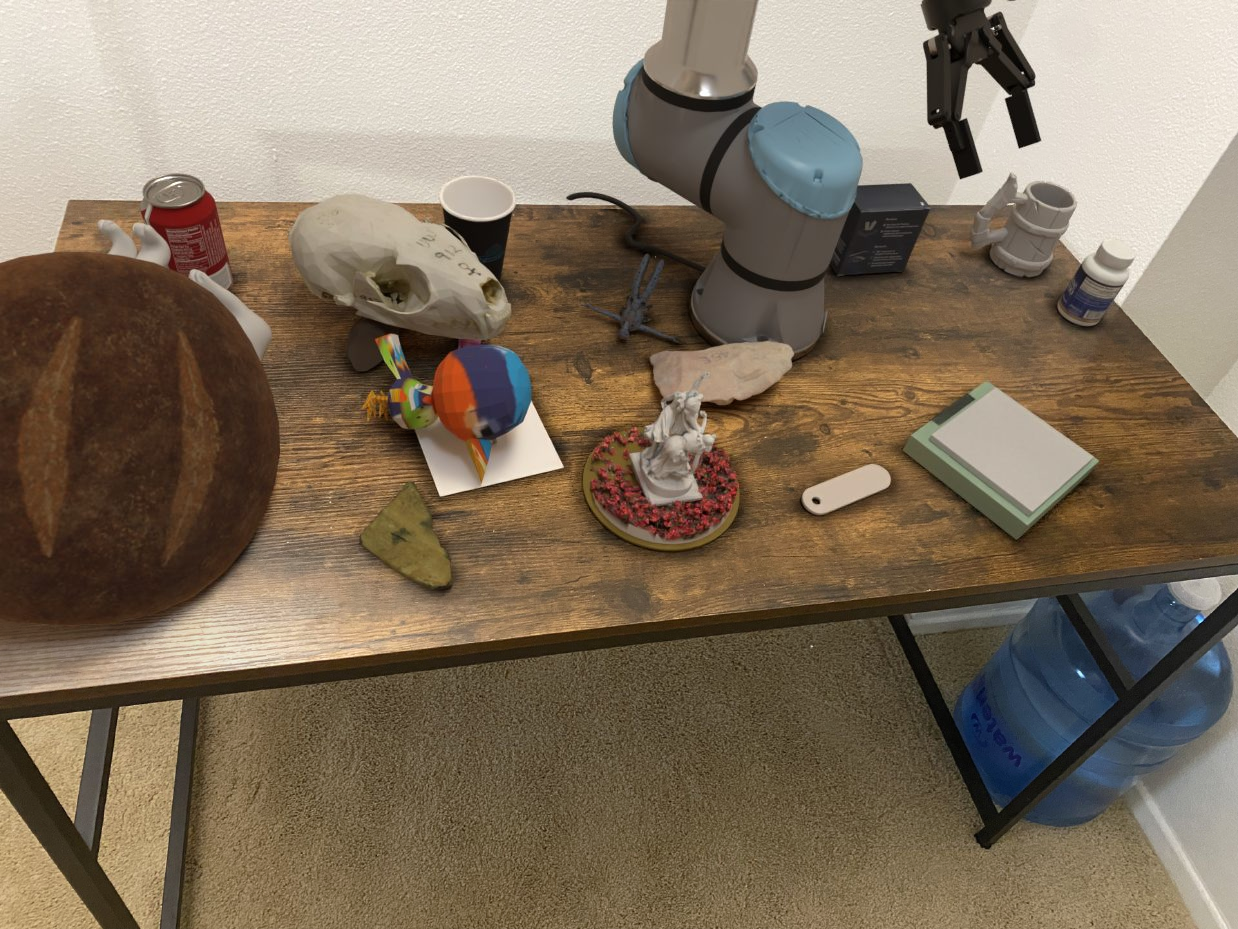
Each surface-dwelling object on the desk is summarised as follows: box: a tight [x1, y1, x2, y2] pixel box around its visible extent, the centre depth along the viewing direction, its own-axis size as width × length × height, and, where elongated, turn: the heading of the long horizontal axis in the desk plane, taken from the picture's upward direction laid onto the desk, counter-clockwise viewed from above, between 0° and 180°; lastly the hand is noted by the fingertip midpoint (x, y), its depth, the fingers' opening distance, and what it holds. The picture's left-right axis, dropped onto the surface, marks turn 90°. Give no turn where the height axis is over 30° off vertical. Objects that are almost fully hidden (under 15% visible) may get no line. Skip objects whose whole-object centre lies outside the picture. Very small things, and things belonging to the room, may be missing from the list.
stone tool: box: [649, 341, 794, 406], centre depth 96 cm, size 9×5×15 cm
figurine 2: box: [579, 253, 681, 344], centre depth 100 cm, size 12×10×5 cm
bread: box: [0, 251, 281, 627], centre depth 67 cm, size 28×27×9 cm
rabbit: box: [97, 219, 273, 362], centre depth 76 cm, size 12×21×25 cm
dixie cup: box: [438, 174, 517, 283], centre depth 99 cm, size 8×8×11 cm
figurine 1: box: [345, 292, 405, 372], centre depth 94 cm, size 6×4×12 cm
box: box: [829, 182, 932, 277], centre depth 112 cm, size 9×6×10 cm, turn 104°
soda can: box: [139, 172, 234, 292], centre depth 93 cm, size 7×7×12 cm
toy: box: [361, 334, 533, 484], centre depth 84 cm, size 10×14×15 cm
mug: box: [969, 171, 1078, 278], centre depth 116 cm, size 8×12×12 cm, turn 91°
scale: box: [902, 380, 1100, 540], centre depth 94 cm, size 14×14×3 cm
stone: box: [359, 481, 454, 591], centre depth 79 cm, size 12×7×2 cm, turn 24°
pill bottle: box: [1057, 238, 1137, 327], centre depth 111 cm, size 5×5×10 cm
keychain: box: [801, 463, 892, 516], centre depth 90 cm, size 10×1×3 cm
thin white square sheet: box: [414, 400, 565, 498], centre depth 88 cm, size 12×12×2 cm
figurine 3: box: [582, 372, 741, 552], centre depth 82 cm, size 15×15×14 cm
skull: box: [288, 193, 512, 342], centre depth 89 cm, size 14×24×10 cm, turn 58°
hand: (1001, 160), depth 114 cm, fingers open, 13 cm apart
